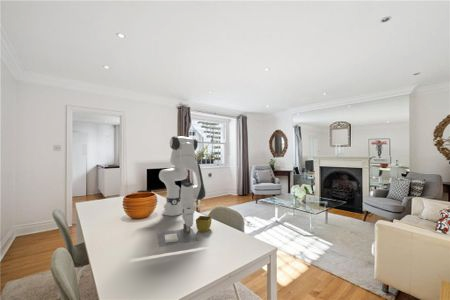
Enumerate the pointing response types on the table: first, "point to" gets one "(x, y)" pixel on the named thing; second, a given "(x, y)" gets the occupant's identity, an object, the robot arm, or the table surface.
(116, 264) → the table surface
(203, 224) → the flower pot
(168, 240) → the tile
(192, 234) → the board
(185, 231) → the walnut block
